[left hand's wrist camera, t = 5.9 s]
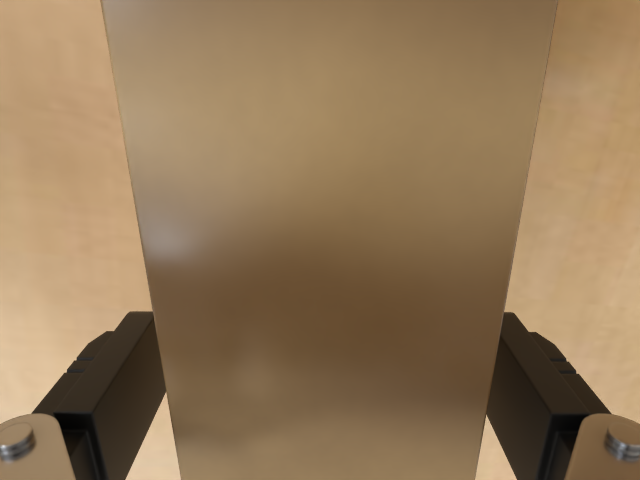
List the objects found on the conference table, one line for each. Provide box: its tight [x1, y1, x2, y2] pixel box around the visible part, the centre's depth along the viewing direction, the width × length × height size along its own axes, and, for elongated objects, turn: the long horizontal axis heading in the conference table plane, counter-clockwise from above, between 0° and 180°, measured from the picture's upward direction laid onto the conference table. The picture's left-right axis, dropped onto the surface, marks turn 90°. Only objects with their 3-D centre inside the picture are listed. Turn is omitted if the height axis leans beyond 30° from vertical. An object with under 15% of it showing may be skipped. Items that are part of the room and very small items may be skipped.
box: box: [101, 0, 558, 480], centre depth 10 cm, size 20×6×9 cm, turn 0°
